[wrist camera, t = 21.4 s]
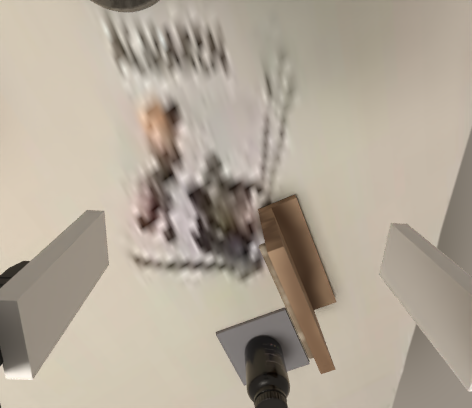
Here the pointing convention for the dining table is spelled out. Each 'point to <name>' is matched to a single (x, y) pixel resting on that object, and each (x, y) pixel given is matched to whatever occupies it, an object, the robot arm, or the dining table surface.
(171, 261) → the dining table surface
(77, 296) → the robot arm
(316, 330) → the board
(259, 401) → the supplement bottle
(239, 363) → the rubber mat
